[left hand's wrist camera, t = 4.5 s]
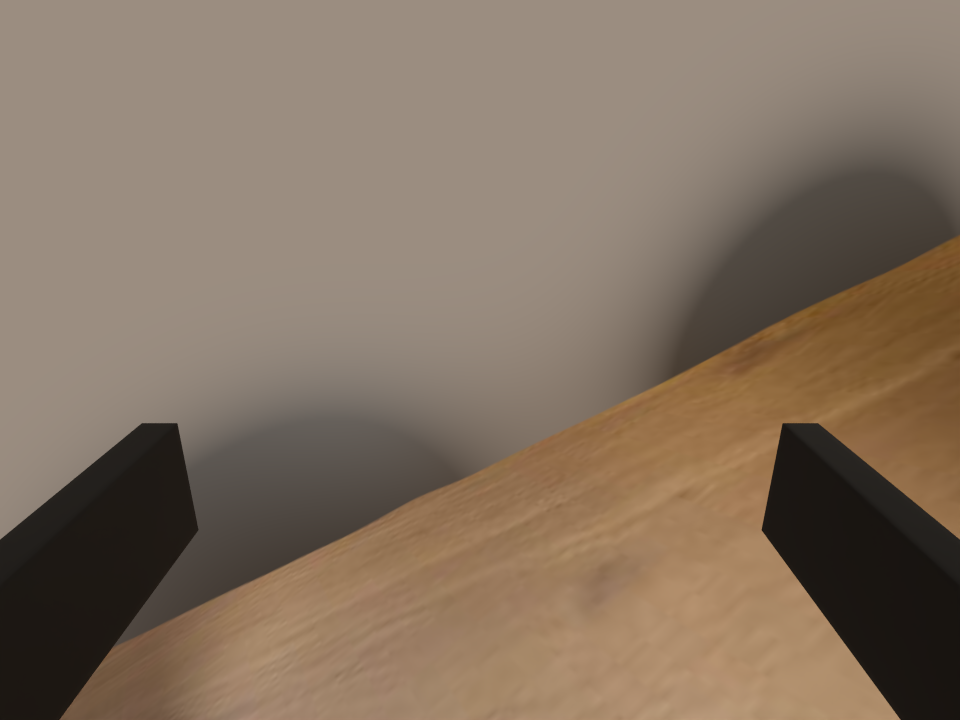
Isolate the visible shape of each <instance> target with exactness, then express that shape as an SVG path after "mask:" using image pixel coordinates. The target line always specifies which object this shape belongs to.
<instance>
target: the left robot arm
mask: <svg viewBox="0 0 960 720" xmlns="http://www.w3.org/2000/svg"><path fill="white" fill-rule="evenodd" d="M197 531H198V526H197V521H196V516H195V511H194V506H193V501H192V495H191V490H190V485H189V480H188V475H187V470H186V465H185V460H184V455H183V450H182V445H181V440H180V435H179V430H178V424H177V423H142V424H141V425H139V426H138V427H137V428H136V429H135V430H133V431H132V432H131V433H130V434H128V435H127V436H126V437H125V438H124V439H122V440H121V441H120V442H119V443H118V444H116V445H115V446H114V447H113V448H111V449H110V450H109V451H108V452H107V453H105V454H104V455H103V456H102V457H100V458H99V459H98V460H97V461H95V462H94V463H93V464H92V465H91V466H89V467H88V468H87V469H86V470H85V471H83V472H82V473H81V474H80V475H78V476H77V477H76V478H75V479H74V480H72V481H71V482H70V483H69V484H68V485H66V486H65V487H64V488H63V489H61V490H60V491H59V492H58V493H56V494H55V495H54V496H53V497H52V498H50V499H49V500H48V501H47V502H46V503H44V504H43V505H42V506H41V507H39V508H38V509H37V510H36V511H35V512H33V513H32V514H31V515H30V516H28V517H27V518H26V519H25V520H24V521H22V522H21V523H20V524H19V525H17V526H16V527H15V528H14V529H13V530H12V531H10V532H9V533H8V534H7V535H5V536H4V537H3V538H2V539H1V540H0V720H59V719H60V718H61V717H62V715H63V714H64V713H65V711H66V710H67V709H68V707H69V706H70V704H71V703H72V702H73V700H74V699H75V698H76V696H77V695H78V694H79V692H80V691H81V689H82V688H83V687H84V685H85V684H86V683H87V681H88V680H89V679H90V677H91V676H92V674H93V673H94V672H95V670H96V669H97V668H98V666H99V665H100V664H101V662H102V661H103V659H104V658H105V657H106V655H107V654H108V653H109V651H110V650H111V649H112V647H113V646H114V644H115V643H116V642H117V640H118V639H119V638H120V636H121V635H122V634H123V632H124V631H125V629H126V628H127V627H128V625H129V624H130V623H131V621H132V620H133V619H134V617H135V616H136V614H137V613H138V612H139V610H140V609H141V608H142V606H143V605H144V604H145V602H146V601H147V599H148V598H149V597H150V595H151V594H152V593H153V591H154V590H155V589H156V587H157V586H158V584H159V583H160V582H161V580H162V579H163V577H164V576H165V575H166V574H167V572H168V571H169V569H170V568H171V567H172V565H173V564H174V563H175V561H176V560H177V558H178V557H179V556H180V554H181V553H182V552H183V550H184V549H185V548H186V546H187V545H188V543H189V542H190V541H191V539H192V538H193V537H194V535H195V534H196V533H197ZM762 531H763V533H764V534H765V535H766V537H767V538H768V539H769V541H770V542H771V544H772V545H773V546H774V548H775V549H776V550H777V552H778V553H779V554H780V556H781V557H782V559H783V560H784V561H785V563H786V564H787V565H788V567H789V568H790V569H791V571H792V572H793V574H794V575H795V576H796V578H797V579H798V580H799V582H800V583H801V584H802V586H803V587H804V589H805V590H806V591H807V593H808V594H809V595H810V597H811V598H812V599H813V601H814V602H815V604H816V605H817V606H818V608H819V609H820V610H821V612H822V613H823V614H824V616H825V617H826V619H827V620H828V621H829V623H830V624H831V625H832V627H833V628H834V629H835V631H836V632H837V634H838V635H839V636H840V638H841V639H842V640H843V642H844V643H845V644H846V646H847V647H848V649H849V650H850V651H851V653H852V654H853V655H854V657H855V658H856V659H857V661H858V662H859V664H860V665H861V666H862V668H863V669H864V670H865V672H866V673H867V674H868V676H869V677H870V679H871V680H872V681H873V683H874V684H875V685H876V687H877V688H878V689H879V691H880V692H881V694H882V695H883V696H884V698H885V699H886V700H887V702H888V703H889V704H890V706H891V707H892V709H893V710H894V711H895V713H896V714H897V715H898V717H899V718H900V719H901V720H960V539H958V538H957V537H956V536H955V535H953V534H952V533H951V532H950V531H949V530H947V529H946V528H945V527H944V526H942V525H941V524H940V523H939V522H938V521H936V520H935V519H934V518H933V517H932V516H930V515H929V514H928V513H927V512H925V511H924V510H923V509H922V508H921V507H919V506H918V505H917V504H916V503H914V502H913V501H912V500H911V499H910V498H908V497H907V496H906V495H905V494H903V493H902V492H901V491H900V490H899V489H897V488H896V487H895V486H894V485H893V484H891V483H890V482H889V481H888V480H886V479H885V478H884V477H883V476H882V475H880V474H879V473H878V472H877V471H875V470H874V469H873V468H872V467H871V466H869V465H868V464H867V463H866V462H865V461H863V460H862V459H861V458H860V457H858V456H857V455H856V454H855V453H854V452H852V451H851V450H850V449H849V448H847V447H846V446H845V445H844V444H843V443H841V442H840V441H839V440H838V439H836V438H835V437H834V436H833V435H832V434H830V433H829V432H828V431H827V430H826V429H824V428H823V427H822V426H821V425H819V424H818V423H783V424H782V429H781V435H780V440H779V445H778V450H777V455H776V460H775V465H774V470H773V475H772V480H771V485H770V490H769V495H768V500H767V506H766V511H765V516H764V521H763V526H762Z"/></svg>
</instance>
